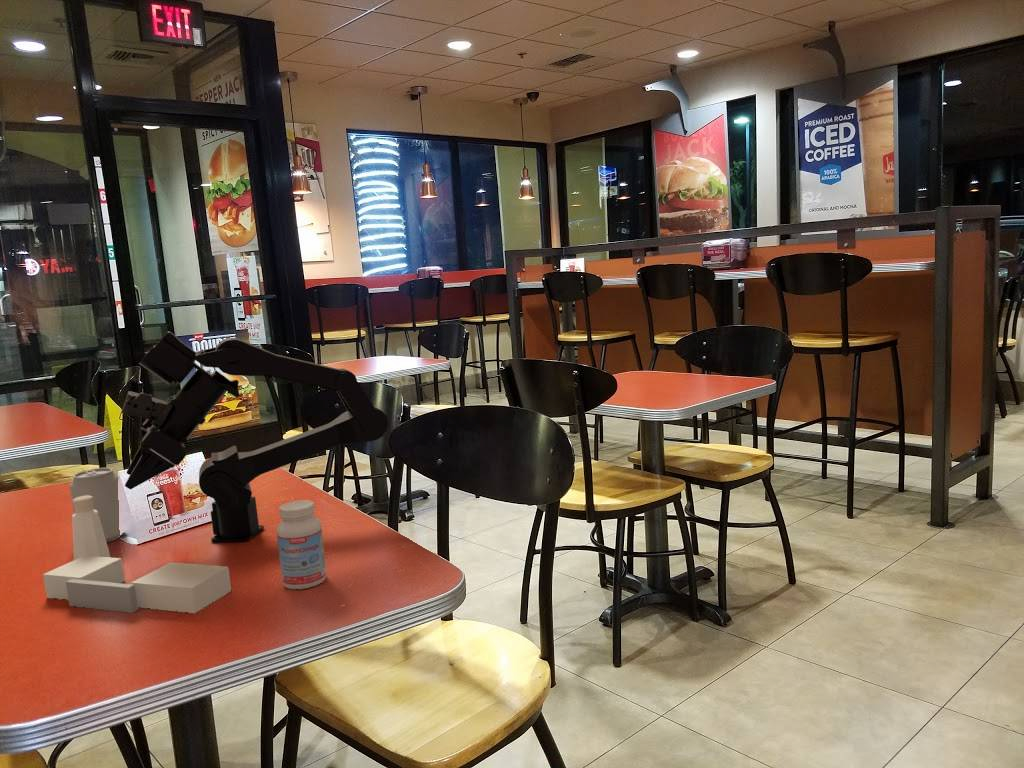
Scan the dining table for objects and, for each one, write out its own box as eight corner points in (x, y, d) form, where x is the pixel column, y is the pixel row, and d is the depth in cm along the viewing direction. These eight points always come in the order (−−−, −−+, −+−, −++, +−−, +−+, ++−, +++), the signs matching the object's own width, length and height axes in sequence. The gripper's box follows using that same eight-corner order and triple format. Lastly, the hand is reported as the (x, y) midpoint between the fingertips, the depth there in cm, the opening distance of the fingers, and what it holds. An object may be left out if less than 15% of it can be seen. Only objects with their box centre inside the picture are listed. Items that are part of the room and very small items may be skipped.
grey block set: (231, 590, 105) (228, 566, 104) (186, 618, 97) (183, 593, 96) (88, 577, 113) (85, 555, 113) (37, 602, 106) (33, 578, 105)
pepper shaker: (68, 574, 115) (56, 504, 114) (80, 561, 121) (69, 494, 119) (106, 569, 116) (95, 500, 115) (117, 556, 122) (107, 490, 120)
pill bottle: (282, 594, 103) (272, 514, 101) (283, 577, 108) (274, 501, 107) (328, 586, 104) (319, 507, 102) (326, 570, 110) (318, 495, 108)
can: (91, 549, 126) (79, 479, 124) (71, 541, 131) (59, 474, 129) (135, 534, 132) (125, 468, 130) (115, 528, 137) (104, 463, 135)
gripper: (150, 366, 128) (86, 440, 125) (150, 378, 111) (76, 464, 108) (206, 405, 132) (145, 478, 129) (214, 422, 115) (145, 506, 113)
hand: (128, 480), depth 120 cm, fingers open, 9 cm apart
